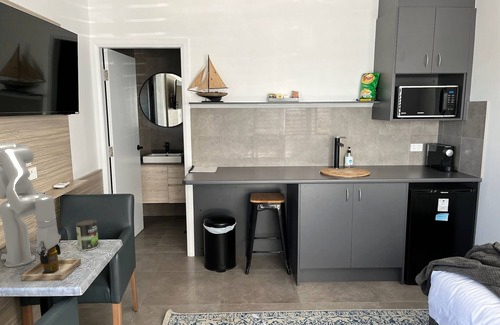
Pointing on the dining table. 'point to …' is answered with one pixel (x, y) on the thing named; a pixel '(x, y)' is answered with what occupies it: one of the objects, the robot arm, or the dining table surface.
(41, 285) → the dining table surface
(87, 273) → the dining table surface
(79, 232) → the coffee can
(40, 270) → the tray
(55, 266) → the condiment
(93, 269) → the dining table surface
